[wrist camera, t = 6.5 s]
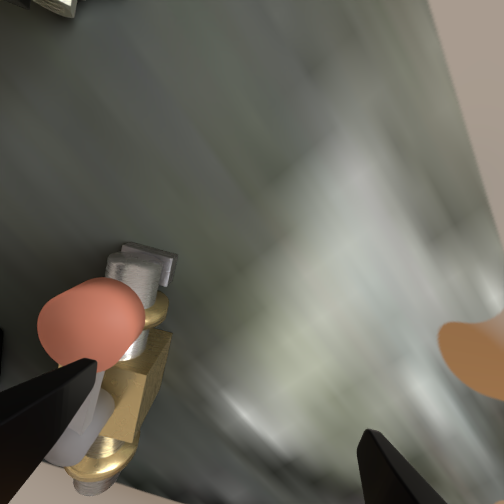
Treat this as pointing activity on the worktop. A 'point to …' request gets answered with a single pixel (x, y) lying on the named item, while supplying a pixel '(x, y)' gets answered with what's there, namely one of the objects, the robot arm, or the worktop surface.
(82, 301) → the lever
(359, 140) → the worktop surface
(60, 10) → the ball valve
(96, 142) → the worktop surface
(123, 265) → the valve body
